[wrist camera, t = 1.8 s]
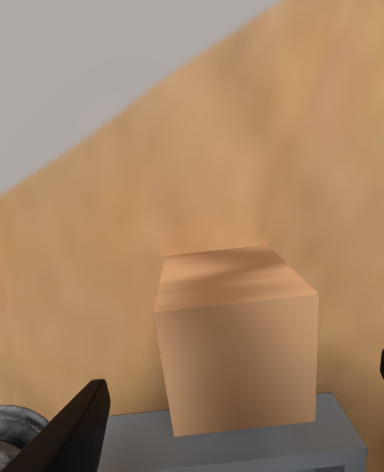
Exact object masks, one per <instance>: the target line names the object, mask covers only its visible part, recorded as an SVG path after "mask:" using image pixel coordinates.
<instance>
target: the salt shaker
mask: <svg viewBox="0 0 384 472" xmlns="http://www.w3.org/2000/svg"><path fill="white" fill-rule="evenodd" d="M48 423H49V422H48V421H47V420H46V418H44V417H43V416H41V415H40V414H38V413H37V412H34V411H32V410H29V409H27V408H24V407H19V406H14V405H0V471H1V470H2V469H3V468H4V467H5V466H6V465H7V464H8V463H9V462H10V461H11V460H12V459H13V458H14V457H15V456H16V455H17V454H18V453H19V452H20V451H21V450H22V449H23V448H24V447H25V446H26V445H27V444H28V443H29V442H30V441H31V440H32V439H33V438H34V437H35V436H36V435H37V434H38V433H39V432H40V431H41V430H42V429H43V428H44V427H45V426H46V425H47V424H48Z"/></svg>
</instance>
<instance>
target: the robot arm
mask: <svg viewBox="0 0 384 472" xmlns="http://www.w3.org/2000/svg"><path fill="white" fill-rule="evenodd" d="M380 372H381V375H382V377H383V379H384V349H383V350H382V354H381V364H380ZM109 410H110V395H109V391H108V387H107V383H106V381H105V379H94V380H91V381H90V382H89V383H88V384H87V385H86V386H85V387H84V388H83V389H82V390H81V391H80V392H79V393H78V394H77V395H76V396H75V397H74V398H73V399H72V400H71V401H70V402H69V403H68V404H67V405H66V406H65V407H64V408H63V409H62V410H61V411H60V412H59V413H58V414H57V415H56V416H55V417H54V418H53V419H52V420H51V421H50V422H49V423H48V424H47V425H46V426H45V427H44V428H43V429H42V430H41V431H40V432H39V433H38V434H37V435H36V436H35V437H34V438H33V439H32V440H31V441H30V442H29V443H28V444H27V445H26V446H25V447H24V448H23V449H22V450H21V451H20V452H19V453H18V454H17V455H16V456H15V457H14V458H13V459H12V460H11V461H10V462H9V463H8V464H7V465H6V466H5V467H4V468H3V469H2V470H1V471H0V472H97V470H98V466H99V462H100V457H101V452H102V447H103V442H104V436H105V431H106V426H107V420H108V415H109Z"/></svg>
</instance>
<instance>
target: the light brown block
mask: <svg viewBox="0 0 384 472" xmlns="http://www.w3.org/2000/svg"><path fill="white" fill-rule="evenodd" d="M318 310H319V294H318V293H317V292H316V291H315V290H314V289H313V288H312V287H311V286H310V285H309V284H308V283H307V282H306V281H305V280H304V279H303V278H301V277H300V276H299V275H298V274H297V273H296V272H295V271H294V270H293V269H292V268H291V267H290V266H289V265H288V264H287V263H286V262H285V261H283V260H282V259H281V258H280V257H279V256H278V255H277V254H276V253H275V252H274V251H273V250H272V249H271V248H270V247H269V246H268V245H262V246H253V247H244V248H235V249H226V250H217V251H208V252H199V253H190V254H181V255H172V256H165V261H164V265H163V269H162V274H161V278H160V283H159V287H158V292H157V296H156V301H155V305H154V310H153V316H154V322H155V328H156V334H157V340H158V345H159V351H160V357H161V363H162V369H163V375H164V381H165V386H166V392H167V398H168V404H169V410H170V416H171V421H172V427H173V433H174V437H177V436H186V435H196V434H205V433H214V432H223V431H232V430H241V429H250V428H260V427H269V426H278V425H287V424H296V423H305V422H315V414H316V379H317V345H318Z"/></svg>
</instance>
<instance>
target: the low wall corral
mask: <svg viewBox="0 0 384 472" xmlns="http://www.w3.org/2000/svg"><path fill="white" fill-rule="evenodd" d="M366 455H367V447H366V445H365V443H364V442H363V440H362V439H361V437H360V436H359V434H358V433H357V431H356V430H355V428H354V427H353V425H352V423H351V422H350V420H349V419H348V417H347V416H346V414H345V413H344V411H343V410H342V408H341V406H340V405H339V403H338V402H337V400H336V399H335V397H334V396H333V394H332V393H322V394H316V414H315V422H305V423H296V424H287V425H278V426H269V427H260V428H250V429H241V430H232V431H223V432H214V433H205V434H196V435H186V436H177V437H174V433H173V427H172V421H171V416H170V410H164V411H154V412H145V413H136V414H126V415H117V416H108V420H107V426H106V431H105V436H104V442H103V447H102V452H101V457H100V462H99V466H98V470H97V472H365V465H366Z"/></svg>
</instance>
